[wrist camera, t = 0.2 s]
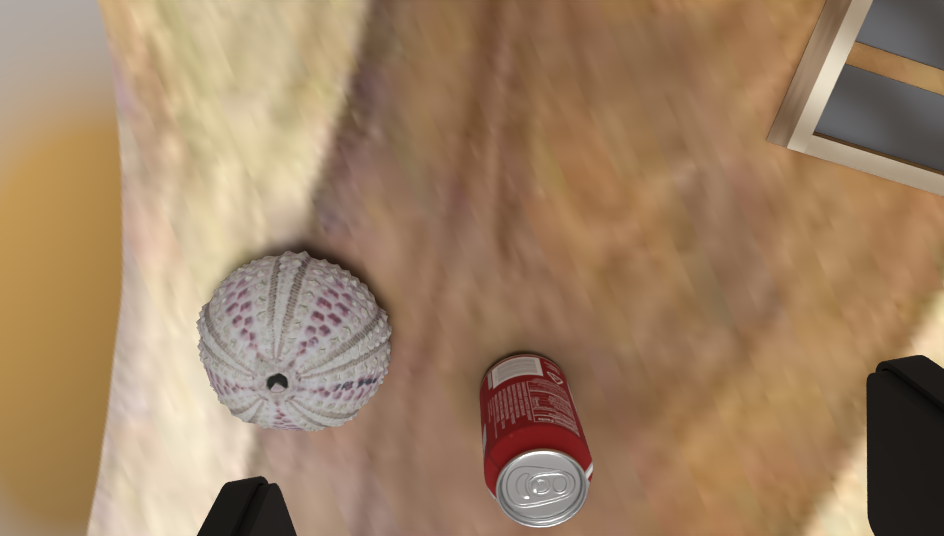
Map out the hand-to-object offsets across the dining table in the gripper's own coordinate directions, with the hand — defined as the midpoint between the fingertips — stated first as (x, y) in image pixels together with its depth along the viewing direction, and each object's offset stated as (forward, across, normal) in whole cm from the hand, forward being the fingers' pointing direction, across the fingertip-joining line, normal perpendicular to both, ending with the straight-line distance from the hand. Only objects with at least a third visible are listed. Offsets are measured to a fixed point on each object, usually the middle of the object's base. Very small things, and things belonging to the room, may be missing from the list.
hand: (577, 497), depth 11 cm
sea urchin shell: (+37, +16, +11) cm, 41 cm away
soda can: (+37, +1, +19) cm, 41 cm away
